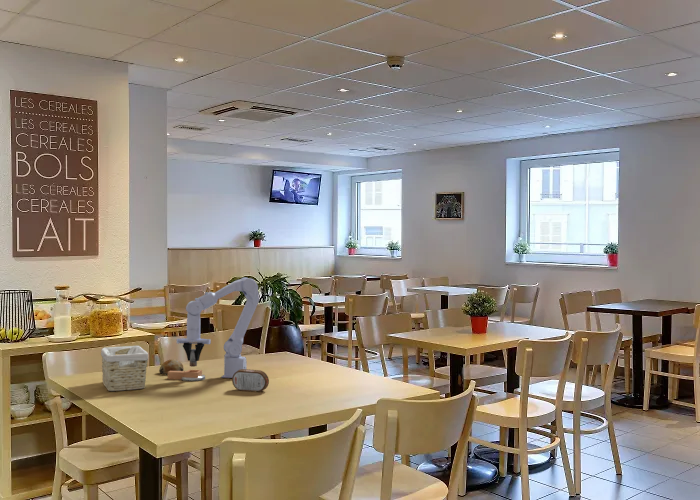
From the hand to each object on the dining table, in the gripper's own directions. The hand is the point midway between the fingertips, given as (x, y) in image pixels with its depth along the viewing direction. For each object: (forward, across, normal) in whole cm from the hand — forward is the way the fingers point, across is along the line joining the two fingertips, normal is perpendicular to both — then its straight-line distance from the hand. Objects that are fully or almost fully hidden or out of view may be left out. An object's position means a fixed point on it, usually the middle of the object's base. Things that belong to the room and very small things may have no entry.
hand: (193, 360), depth 285 cm
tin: (+8, +30, -19) cm, 36 cm away
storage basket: (+8, -24, -17) cm, 30 cm away
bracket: (+8, -4, 0) cm, 9 cm away
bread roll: (+8, -14, +12) cm, 20 cm away
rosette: (+8, 0, 0) cm, 8 cm away
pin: (+2, 0, 0) cm, 2 cm away
